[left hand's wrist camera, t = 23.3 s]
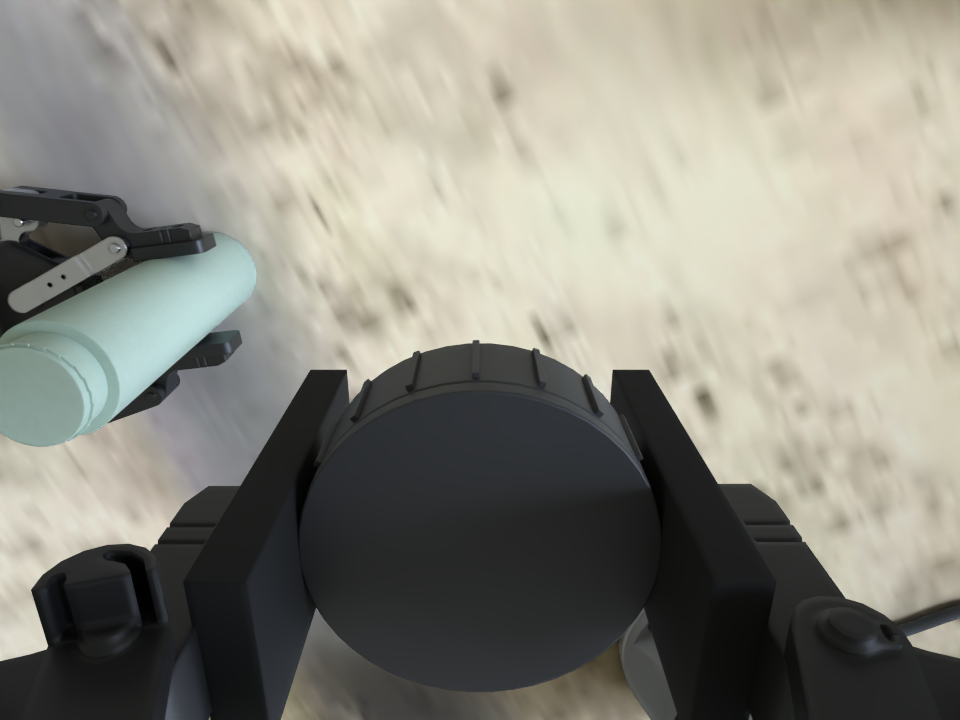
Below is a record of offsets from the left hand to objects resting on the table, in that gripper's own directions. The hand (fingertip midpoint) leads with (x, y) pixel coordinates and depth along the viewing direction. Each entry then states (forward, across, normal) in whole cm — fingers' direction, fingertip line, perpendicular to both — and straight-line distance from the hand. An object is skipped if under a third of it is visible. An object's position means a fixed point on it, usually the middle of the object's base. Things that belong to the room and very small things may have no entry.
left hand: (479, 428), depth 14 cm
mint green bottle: (+29, +17, +4) cm, 33 cm away
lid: (-4, 0, 0) cm, 4 cm away
